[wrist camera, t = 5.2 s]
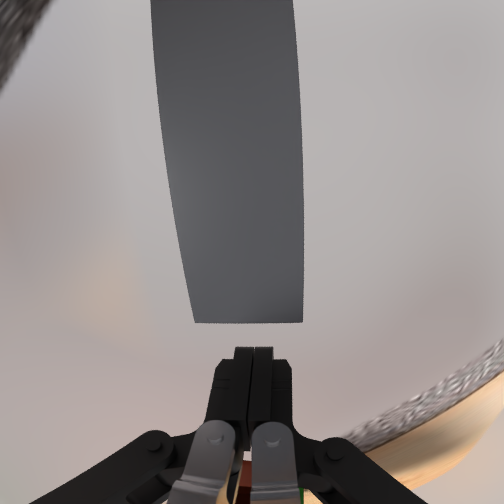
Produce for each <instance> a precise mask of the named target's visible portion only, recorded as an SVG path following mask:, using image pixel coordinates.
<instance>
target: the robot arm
mask: <svg viewBox="0 0 504 504" xmlns="http://www.w3.org/2000/svg"><path fill="white" fill-rule="evenodd" d="M251 447H252V488H251V497H250V504H301V501H300V492H299V487H301V488H305V489H309V490H310V491H311V492H312V493H313V494H314V495H315V496H316V497H317V498H318V499H319V500H320V501H321V502H322V503H323V504H428V503H426V502H425V501H423V500H422V499H421V498H419V497H418V496H417V495H415V494H414V493H413V492H411V491H410V490H409V489H408V488H406V487H405V486H404V485H402V484H401V483H400V482H398V481H397V480H396V479H395V478H393V477H392V476H391V475H390V474H388V473H387V472H386V471H385V470H383V469H382V468H381V467H380V466H378V465H377V464H376V463H375V462H373V461H372V460H371V459H370V458H369V457H367V456H366V455H365V454H364V453H362V452H361V451H360V450H359V449H358V448H357V447H355V446H354V445H353V444H352V443H351V442H349V441H348V440H346V439H343V438H339V437H333V438H328V439H325V440H323V441H322V442H321V441H317V440H313V439H308V438H306V437H304V436H302V435H300V434H299V433H298V432H297V431H296V429H295V428H294V426H293V422H292V369H291V367H290V365H289V363H288V362H287V360H286V359H282V360H281V359H280V360H277V359H276V360H274V356H273V347H255V351H254V347H236V348H235V353H234V359H222V361H221V362H220V363H219V364H218V366H217V367H216V369H215V373H214V378H213V383H212V389H211V393H210V397H209V403H208V407H207V412H206V417H205V420H204V423H203V424H202V425H201V426H200V427H199V428H198V429H197V430H196V431H194V432H192V433H190V434H186V435H180V436H174V437H170V436H169V435H168V434H167V433H165V432H163V431H159V430H152V431H148V432H146V433H144V434H142V435H141V436H139V437H138V438H136V439H135V440H133V441H132V442H130V443H129V444H127V445H126V446H125V447H123V448H121V449H120V450H118V451H117V452H115V453H114V454H112V455H111V456H109V457H108V458H106V459H104V460H103V461H101V462H100V463H98V464H97V465H95V466H93V467H92V468H90V469H88V470H87V471H85V472H84V473H82V474H80V475H79V476H77V477H76V478H74V479H72V480H70V481H68V482H67V483H65V484H63V485H62V486H60V487H58V488H56V489H55V490H53V491H51V492H49V493H47V494H46V495H44V496H42V497H40V498H38V499H37V500H35V501H33V502H31V503H29V504H162V503H163V502H164V501H166V500H167V499H168V501H167V504H235V501H236V496H237V491H238V487H239V482H240V477H241V472H242V464H243V455H244V451H250V449H251Z"/></svg>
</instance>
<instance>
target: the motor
mask: <svg viewBox="0 0 504 504" xmlns="http://www.w3.org/2000/svg"><path fill="white" fill-rule="evenodd" d="M251 488H252V461H246V460H243V464H242V472H241V477H240V482H239V487H238V491H237V496H236V501H235V504H250V497H251ZM299 492H300V501H301V504H304V488H301V487H299Z"/></svg>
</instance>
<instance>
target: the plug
mask: <svg viewBox="0 0 504 504" xmlns="http://www.w3.org/2000/svg"><path fill="white" fill-rule="evenodd" d="M151 19H152V36H153V50H154V62H155V73H156V83H157V94H158V104H159V113H160V122H161V129H162V138H163V145H164V153H165V160H166V167H167V174H168V181H169V188H170V194H171V200H172V207H173V213H174V219H175V225H176V230H177V236H178V241H179V247H180V252H181V258H182V263H183V268H184V273H185V278H186V283H187V288H188V293H189V297H190V303H191V307H192V311H193V316H194V321H195V323H300V322H303V288H304V198H303V157H302V156H303V155H302V128H301V107H300V89H299V73H298V59H297V45H296V32H295V20H294V10H293V0H151Z"/></svg>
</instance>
